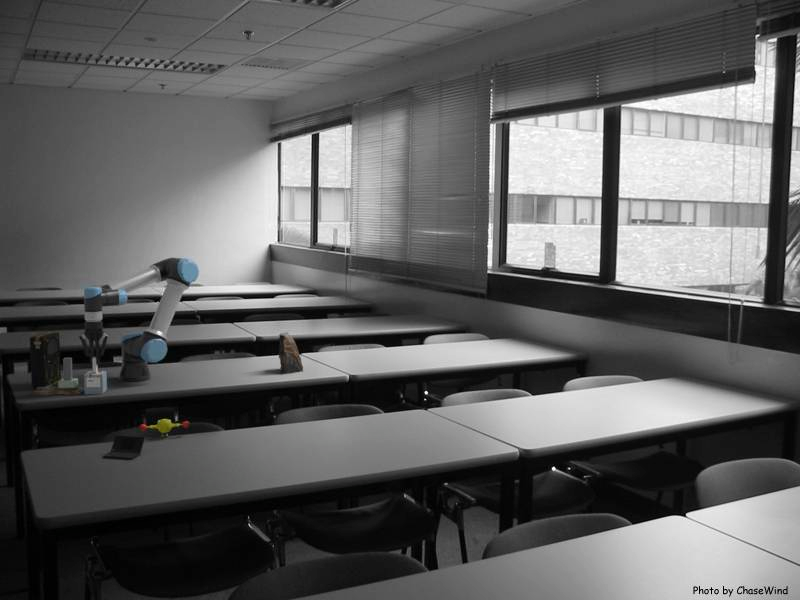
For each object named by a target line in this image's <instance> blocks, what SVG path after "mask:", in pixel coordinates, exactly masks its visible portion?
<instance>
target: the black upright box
mask: <svg viewBox="0 0 800 600" xmlns="http://www.w3.org/2000/svg"><path fill="white" fill-rule="evenodd" d="M60 345H61V344H60V333H59V332H58V331H57V332H55V331H49V332H43V333H39V334H37V335H34V336H31V337H30V338H29V349H30V350H29V351H30V354H29V355H30V356H29V357H30V373H31V379H30V380H31V389H36V390H37V387H55V386H56V384H57V385H58V381H59V380H61V379H62V373H61V372H62V371H61V370H62V369H61V346H60Z"/></svg>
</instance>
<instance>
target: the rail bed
mask: <svg viewBox="0 0 800 600" xmlns="http://www.w3.org/2000/svg"><path fill="white" fill-rule="evenodd" d="M79 392H80V393H81V392H83V387H80V386H78V385H77V386H76V387H75V388H58V386H52V387H37V389H36V390H34V391H33V395H34V396H48V395H49V394H65V395H79V394H80V393H79ZM78 393H79V394H78Z"/></svg>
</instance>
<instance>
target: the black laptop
mask: <svg viewBox="0 0 800 600" xmlns="http://www.w3.org/2000/svg"><path fill="white" fill-rule="evenodd" d="M144 443H145V437H143V436H130V435H126V436H125V435H115V437H114V439H113V443H112V446H111V450H110V451H109V452H107V453H105V454H104V455H102V459H111V460H124V461H125V460H126V461H127V460H129V461H132V460H135V459H136V458H138V457H139V456H141V455H142V454H141V453H142V449H143V446H144Z"/></svg>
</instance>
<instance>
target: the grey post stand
mask: <svg viewBox="0 0 800 600" xmlns="http://www.w3.org/2000/svg"><path fill="white" fill-rule="evenodd" d="M62 364H63V365H62V367H63V371H62V372H63V378H61V380H59V381H58V384H57V385H58V386H57V387H58V388H75V387H76V386H78V385H79V378H74V377H73V358H72V357H64V358H63V359H62Z"/></svg>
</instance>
